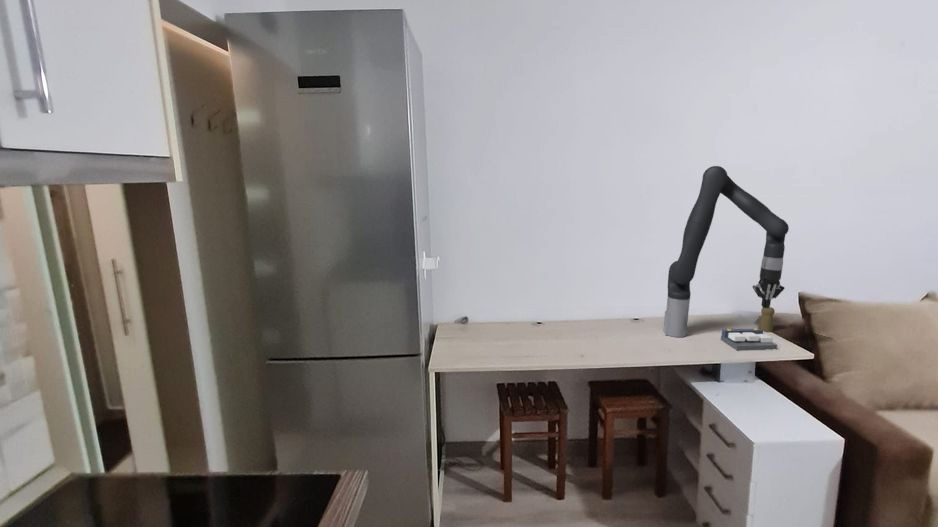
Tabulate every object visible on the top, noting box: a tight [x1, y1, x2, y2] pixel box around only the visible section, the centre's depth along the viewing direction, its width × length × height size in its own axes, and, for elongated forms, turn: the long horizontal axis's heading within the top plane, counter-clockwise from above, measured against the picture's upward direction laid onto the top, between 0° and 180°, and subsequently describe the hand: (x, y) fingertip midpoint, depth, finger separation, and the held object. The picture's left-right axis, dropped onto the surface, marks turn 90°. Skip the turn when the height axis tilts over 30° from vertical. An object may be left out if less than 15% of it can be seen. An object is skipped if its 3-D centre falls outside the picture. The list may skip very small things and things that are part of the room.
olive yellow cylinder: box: [757, 306, 775, 333], centre depth 229 cm, size 6×6×11 cm
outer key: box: [756, 333, 774, 343], centre depth 211 cm, size 5×5×2 cm
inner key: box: [728, 333, 746, 341], centre depth 210 cm, size 5×5×2 cm
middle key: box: [742, 332, 759, 341], centre depth 211 cm, size 5×5×2 cm
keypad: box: [720, 327, 778, 351], centre depth 212 cm, size 17×12×5 cm
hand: (765, 307), depth 208 cm, fingers closed
